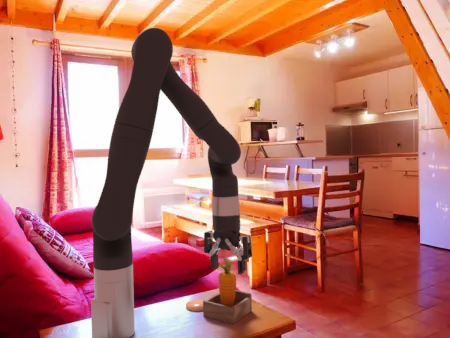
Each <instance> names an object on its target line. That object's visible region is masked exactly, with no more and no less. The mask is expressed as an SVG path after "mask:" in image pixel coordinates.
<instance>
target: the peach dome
mask: <svg viewBox="0 0 450 338" xmlns="http://www.w3.org/2000/svg"><path fill="white" fill-rule="evenodd" d="M205 300H206V299H200V298H199V299H192V300H189V301H187V302H186V303H185V308H186V310H188V311H190V312H203V301H205Z"/></svg>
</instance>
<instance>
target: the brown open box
mask: <svg viewBox="0 0 450 338" xmlns="http://www.w3.org/2000/svg"><path fill="white" fill-rule="evenodd" d="M252 297H253V296H252V293H251V292H248V291H243V290H238V289H236V294H235V300H234V304H233V307H229V306H225V305H222V302H221V298H220V292H219V291H218V292H217V293H216V294H214V295H211V296H210V297H208V298H206V299H204V300H205V301H203V311H202V313H203V315H202V316H203V317H206V318H211V319H213V320H218V321H220V322H224V323H228V324H230V325H234V324H236V323H237V322H238V321H240V320H241V319H243V318H244V317H246V316H247V315H248V314H250V313H251V312H252V311H253V307H252V305H253V303H252V302H253V301H252Z"/></svg>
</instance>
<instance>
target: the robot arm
mask: <svg viewBox="0 0 450 338" xmlns="http://www.w3.org/2000/svg"><path fill="white" fill-rule="evenodd" d="M173 48H174V47H173V42H172V40H171V38H170V36H169V35H168V33H167V32H166V31H165V30H164V29H162V28H160V27H149V28H146V29H144V30H142V31H141V32H140V33H139V34H138V35H137V37H136V38H135V40H134V41H133V44H132V46H131V51H130V52H131V58H132V61H133V62H132V63H133V65H132V70H131V76H130V80H129V84H128V87H127V88H126V91H125V94H124V96H123V98H122V99H121V103H120V105H119V108H118V110H117V113H116V114H117V115H116V116H115V117H116V118H115V119H114V120H115V121H114V124H113V129H112V132H111V136H110V142H109V146H108V147H109V148H108V155H107V167H106V176H105V181H104V184H103V187H102V191H101V193H100V196H99V198H98V199H99V200H98V202H97V205H96V206H95V208H94V209H93V211H92V215H91V226H92V244H93V245H92V247H93V248H92V260H93V264H92V265H93V291H94V292H93V293H94V296H93V297H94V298H91V300H90V312H91V313H90V315H91V338H130V337H132V336H133V335H134V334H135V301H134V300H135V297H134V295H135V292H134V262H133V260H134V259H133V256H134V255H133V243H132V242H133V241H132V224H133V216H134V215H133V214H134V207H135V206H134V205H135V198H136V192H137V187H138V185H139V184H138V183H139V180H140V178H141V174H142V172H143V170H144V169H143V168H144V165H145V162H146V159H147V156H148V152H149V149H150V145H151V141H152V138H153V132H154V128H155V122H156V118H157V112H158V106H159V100H160V94H161V92H162V93H163V94H164V95H165V97H166V98H167V99H168V100H169V101H170V103H171V104H172V105H173V106H174V109H176V111H177V112H178V113H179V114H180V116H181V118H183V120H184V121H185V123H186V124H187V126H188V127H189V129H191V131H192V132H193V134H194V135H195V137H197V138H198V139H199V140H202V141H204V143H206V145H207V146H208V150H207V162H208V166H209V171H210V177H211V180H212V184H211V185H212V187H211V188H212V199H211V200H212V203H211V213H212V214H211V215H212V216H211V217H212V218H211V219H212V230H208V231H205V232H203V252H204V254H208V255H209V256H210V260H209V261H210V267H211V269H212V270H217V269H219V254H218V253H219V251H220V250H224V251H225V250H226V251H230V252H232V254H233V255H235V258H237V275H243V274H244V273H245V272H246V270H247V268H246V267H247V266H246V264H247V263H246V262H247V261H246V260H249V259H250V258H252V257H253V247H252V237H251V234H247V235H241V233H240V231H241V209H240V205H241V204H240V199H239V181H238V177H237V175H236V174H235V173H234V171H233V165H234V164H236V163H237V162H238V161H239V160H240V159H241V156H242V155H241V154H242V150H241V147H240V144H239V142H238V141H237V139H236V138H235V137H234V136H233V135H232V133H230V132H229V130H228V129H226V127H225V126H224V125H222V124H221V123H220V122H219V121H218V119H217V117H216V116H215V114H214V113H213V112H212V110H211V109H210V107H209V106H208V105H207V103H206V102H205V101H204V100H203V99H202V98H201V97H200V96H199V94H198V93H196V92H195V91H194V89H192V88H191V87H190V85H188V84H187V83H186V82H185V81H184V79H182V78H181V76H180V75H179V73H178V72H177V71H176V69H175V68H174V66H173V64H172V62H171V60H172V57H173V53H174V49H173ZM213 240H214V244H213Z"/></svg>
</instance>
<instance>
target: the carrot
mask: <svg viewBox="0 0 450 338" xmlns="http://www.w3.org/2000/svg"><path fill="white" fill-rule="evenodd" d="M223 262H224V264H218V267H220V268H222V269H223V270H224V271H222V272H220V273H219V274H218V293H219V292H220V298H221V302H222V305H225V306H229V307H233V304H234V300H235V294H236V290H237V276H236V273H234V271H231V268H232V261H231V260H229V261H228V258H226V257H225V258H223Z"/></svg>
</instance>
